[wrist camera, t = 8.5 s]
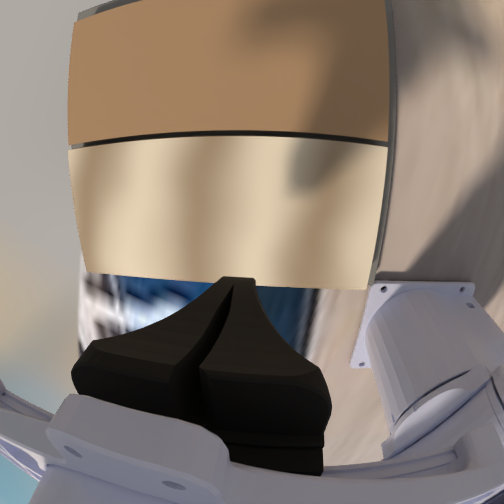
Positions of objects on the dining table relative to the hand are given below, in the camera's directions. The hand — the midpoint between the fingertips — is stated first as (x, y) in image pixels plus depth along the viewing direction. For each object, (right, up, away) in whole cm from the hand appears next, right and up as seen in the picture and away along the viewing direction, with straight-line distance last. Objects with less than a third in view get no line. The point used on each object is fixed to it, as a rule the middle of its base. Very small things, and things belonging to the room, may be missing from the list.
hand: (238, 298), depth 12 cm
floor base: (-1, +9, +4) cm, 10 cm away
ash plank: (-1, +4, +5) cm, 7 cm away
